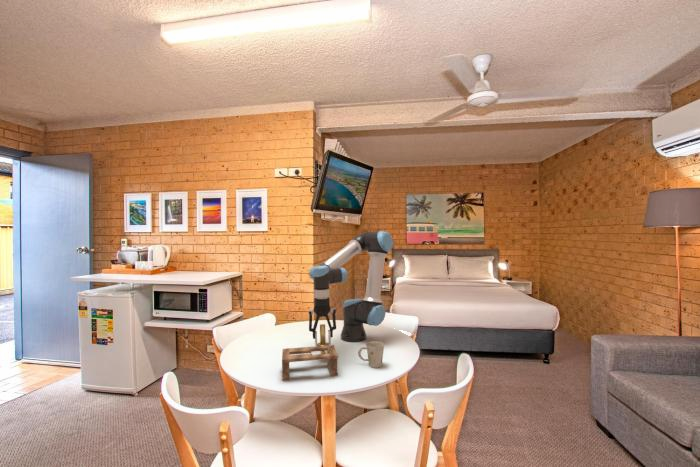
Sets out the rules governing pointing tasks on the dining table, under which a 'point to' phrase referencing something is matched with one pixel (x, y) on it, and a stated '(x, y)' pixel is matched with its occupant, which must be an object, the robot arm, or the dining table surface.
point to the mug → (373, 353)
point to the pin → (322, 338)
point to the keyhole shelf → (309, 358)
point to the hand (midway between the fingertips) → (322, 344)
